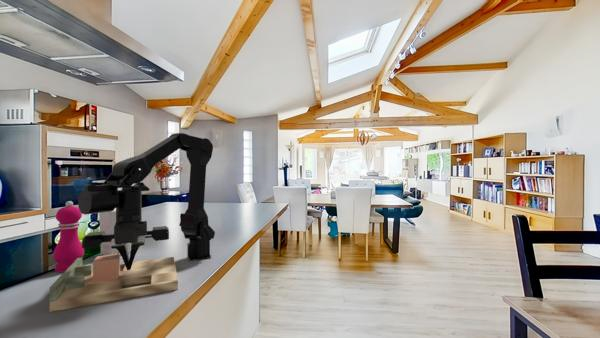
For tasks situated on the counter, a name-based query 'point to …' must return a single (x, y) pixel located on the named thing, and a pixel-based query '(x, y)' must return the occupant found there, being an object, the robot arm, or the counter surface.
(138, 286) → the board
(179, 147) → the robot arm
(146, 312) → the counter surface
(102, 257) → the block
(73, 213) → the pepper mill
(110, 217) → the skincare box
